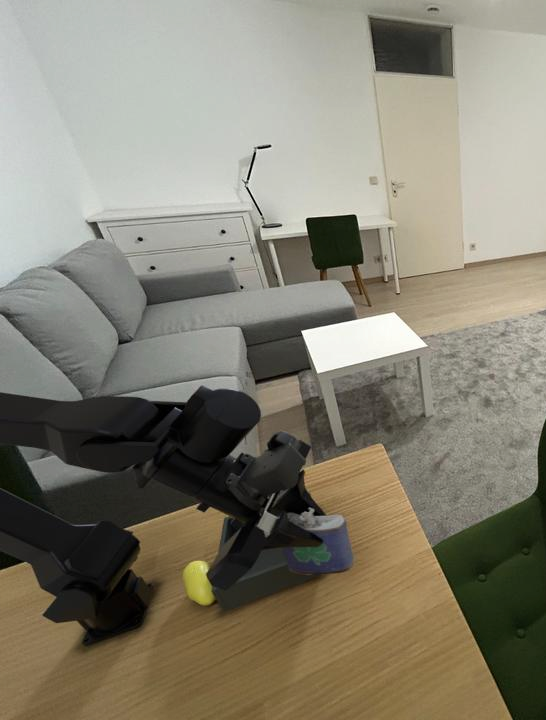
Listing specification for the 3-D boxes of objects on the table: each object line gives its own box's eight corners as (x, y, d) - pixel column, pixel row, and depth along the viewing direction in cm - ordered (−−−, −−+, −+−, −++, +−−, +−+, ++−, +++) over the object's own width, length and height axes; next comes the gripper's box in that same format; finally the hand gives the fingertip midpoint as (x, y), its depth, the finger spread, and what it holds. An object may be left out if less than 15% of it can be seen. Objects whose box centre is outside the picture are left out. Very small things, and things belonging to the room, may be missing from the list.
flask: (356, 556, 56) (345, 503, 51) (350, 576, 53) (337, 523, 48) (293, 554, 56) (275, 502, 51) (283, 574, 53) (263, 521, 48)
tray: (223, 612, 56) (211, 591, 53) (233, 537, 66) (224, 517, 64) (320, 575, 60) (313, 555, 58) (316, 511, 71) (309, 491, 68)
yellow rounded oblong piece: (185, 580, 60) (213, 563, 62) (198, 619, 55) (229, 599, 57) (174, 563, 58) (204, 546, 60) (187, 603, 53) (219, 582, 55)
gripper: (198, 503, 35) (343, 572, 41) (280, 390, 51) (375, 450, 57) (143, 562, 38) (284, 618, 44) (236, 438, 55) (330, 491, 61)
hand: (324, 533), depth 52 cm, fingers closed on flask, 3 cm apart
